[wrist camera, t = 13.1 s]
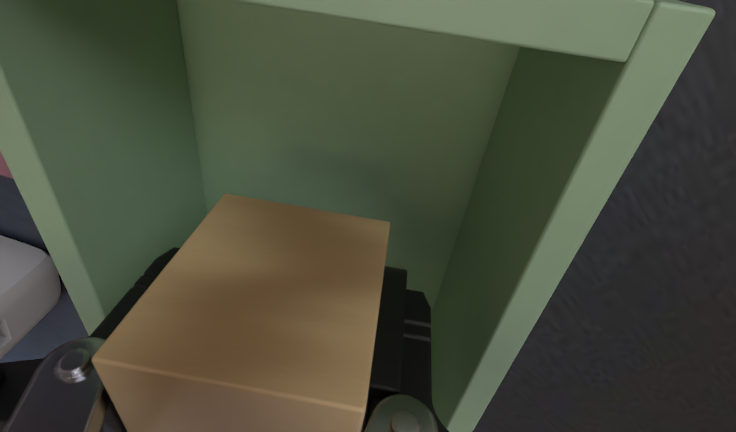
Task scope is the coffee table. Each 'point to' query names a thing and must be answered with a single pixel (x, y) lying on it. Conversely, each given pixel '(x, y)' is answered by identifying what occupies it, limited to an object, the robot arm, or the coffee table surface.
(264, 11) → the bin
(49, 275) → the power adapter
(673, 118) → the coffee table surface
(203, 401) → the block
